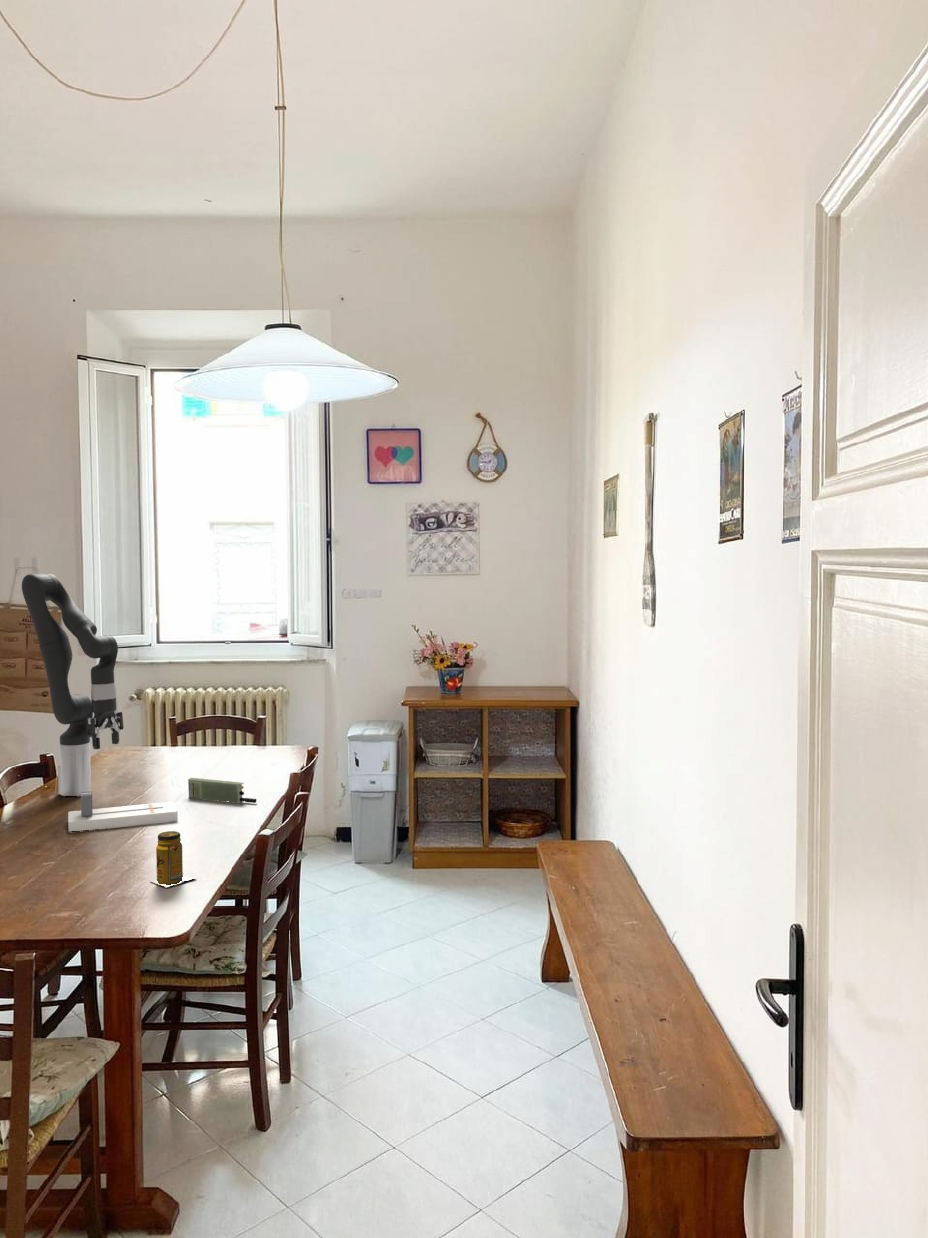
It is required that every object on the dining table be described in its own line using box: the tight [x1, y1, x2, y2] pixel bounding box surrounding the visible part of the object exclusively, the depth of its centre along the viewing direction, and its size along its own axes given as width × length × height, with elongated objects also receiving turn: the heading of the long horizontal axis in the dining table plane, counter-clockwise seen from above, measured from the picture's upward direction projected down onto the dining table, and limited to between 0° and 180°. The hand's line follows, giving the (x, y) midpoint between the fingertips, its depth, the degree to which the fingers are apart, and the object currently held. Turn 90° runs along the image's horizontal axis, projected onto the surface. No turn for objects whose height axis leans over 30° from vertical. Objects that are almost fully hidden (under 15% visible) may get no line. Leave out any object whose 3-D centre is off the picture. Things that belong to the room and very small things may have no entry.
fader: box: [80, 790, 93, 816], centre depth 265 cm, size 3×5×6 cm, turn 24°
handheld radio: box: [187, 777, 257, 804], centre depth 294 cm, size 7×3×25 cm
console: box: [67, 801, 179, 832], centre depth 270 cm, size 30×12×3 cm, turn 114°
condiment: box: [155, 830, 184, 885], centre depth 220 cm, size 7×8×12 cm
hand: (106, 746), depth 294 cm, fingers open, 8 cm apart
